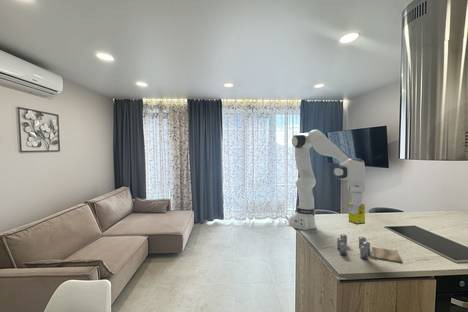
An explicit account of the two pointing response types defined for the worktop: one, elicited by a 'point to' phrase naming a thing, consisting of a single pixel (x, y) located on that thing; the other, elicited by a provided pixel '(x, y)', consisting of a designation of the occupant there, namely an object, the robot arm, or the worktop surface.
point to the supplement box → (356, 214)
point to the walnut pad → (386, 255)
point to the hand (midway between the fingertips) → (356, 210)
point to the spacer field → (363, 246)
